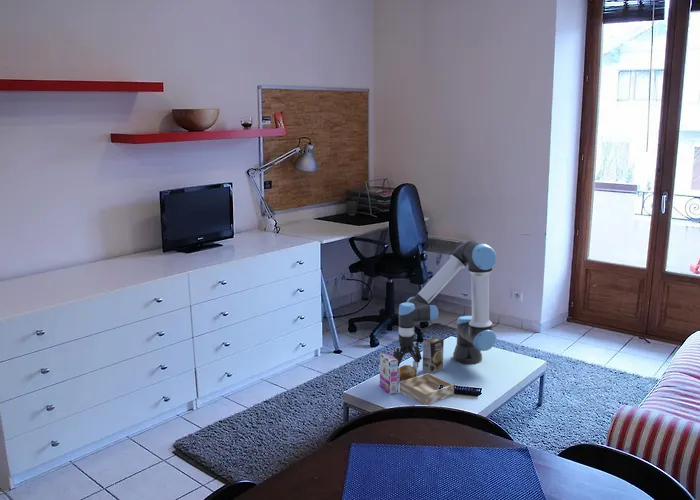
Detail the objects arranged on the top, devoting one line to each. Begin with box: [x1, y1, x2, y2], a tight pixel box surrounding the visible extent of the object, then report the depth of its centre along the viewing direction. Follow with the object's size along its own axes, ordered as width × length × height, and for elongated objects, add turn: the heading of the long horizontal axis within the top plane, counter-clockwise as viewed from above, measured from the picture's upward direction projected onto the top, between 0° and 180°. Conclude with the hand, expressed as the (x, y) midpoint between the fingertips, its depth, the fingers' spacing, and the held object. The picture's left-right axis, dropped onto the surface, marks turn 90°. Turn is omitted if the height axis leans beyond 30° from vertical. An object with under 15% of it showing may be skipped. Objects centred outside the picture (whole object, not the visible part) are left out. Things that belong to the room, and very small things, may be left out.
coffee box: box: [422, 336, 445, 375], centre depth 312 cm, size 9×6×16 cm
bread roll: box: [399, 364, 417, 381], centre depth 304 cm, size 10×10×8 cm
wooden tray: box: [399, 372, 455, 406], centre depth 285 cm, size 18×18×5 cm
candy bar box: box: [379, 352, 399, 396], centre depth 289 cm, size 11×5×16 cm, turn 21°
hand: (406, 377), depth 304 cm, fingers open, 11 cm apart
